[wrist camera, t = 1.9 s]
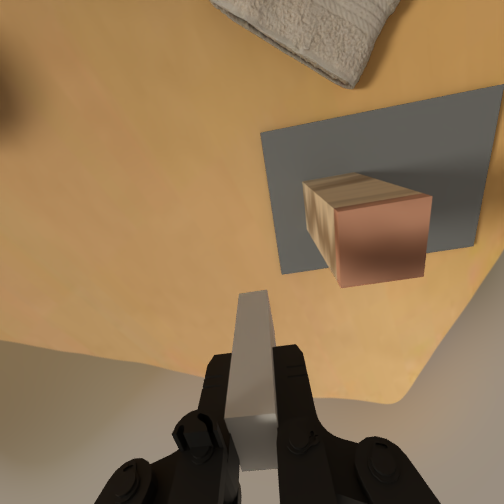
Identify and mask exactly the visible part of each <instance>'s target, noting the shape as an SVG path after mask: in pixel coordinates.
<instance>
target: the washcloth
mask: <svg viewBox="0 0 504 504" xmlns="http://www.w3.org/2000/svg"><path fill="white" fill-rule="evenodd" d="M210 2H211V3H212V5H213V6H214V7H215V8H217V9H219V10H220V11H221V12H222V13H223V14H226V15H227V17H229V18H230V19H231V20H232V21H234V22H236V23H237V24H239V25H241V26H242V27H244V28H245V29H247V30H249V31H250V32H252V33H253V34H255V35H257V36H258V37H260V38H262V39H263V40H264V41H266V42H268V43H269V44H271V45H272V46H274V47H276V48H278V49H279V50H281V51H282V52H284V53H285V54H287V55H289V56H291V57H293V58H294V59H296V60H297V61H299V62H301V63H302V64H304V65H306V66H308V67H309V68H311V69H312V70H314V71H315V72H317V73H318V74H320V75H322V76H323V77H325V78H326V79H328V80H330V81H332V82H333V83H335V84H337V85H339V86H341V87H343V88H346V89H354V87H355V85H356V83H358V82H359V79H360V76H361V75H362V73H363V70H364V68H365V67H366V65H367V62H368V61H369V58H370V55H371V52H372V50H373V48H374V43H375V41H376V39H377V37H378V35H379V34H380V32H381V30H382V28H383V26H384V24H385V22H386V20H387V19H388V17H389V16H390V15H391V14H392V13H394V11H395V9H396V7H397V5H398V3H399V2H400V0H210Z"/></svg>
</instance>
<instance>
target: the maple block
mask: <svg viewBox="0 0 504 504" xmlns="http://www.w3.org/2000/svg"><path fill="white" fill-rule="evenodd" d="M302 184H303V194H304V205H305V215H306V225H307V230H308V232H309V234H310V236H311V237H312V239H313V241H314V242H315V244H316V246H317V248H318V249H319V251H320V253H321V254H322V256H323V258H324V260H325V261H326V263H327V265H328V267H329V268H330V270H331V272H332V273H333V275H334V277H335V279H336V280H337V282H338V284H339V286H340V287H341V288H346V287H353V286H360V285H367V284H375V283H382V282H389V281H396V280H403V279H410V278H417V277H424V269H425V260H426V250H427V241H428V232H429V223H430V214H431V205H432V196H431V195H427V194H424V193H421V192H418V191H414V190H411V189H408V188H404V187H401V186H398V185H394V184H391V183H388V182H385V181H381V180H378V179H375V178H371V177H368V176H365V175H361V174H358V173H355V172H353V173H347V174H342V175H336V176H331V177H325V178H320V179H314V180H309V181H303V182H302Z"/></svg>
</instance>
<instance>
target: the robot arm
mask: <svg viewBox="0 0 504 504" xmlns="http://www.w3.org/2000/svg"><path fill="white" fill-rule="evenodd" d="M172 436H173V438H174V440H175V442H176V444H177V446H178V448H179V449H178V450H177V451H176V452H174V453H173V454H171V455H169V456H167V457H165V458H163V459H160V460H158V461H156V462H154V463H152V464H149V462H148V461H146V460H144V459H143V458H137V459H132V460H130V461H128V462H126V463H124V464H123V465H122V466H121V467H120V468H118V469H117V470H116V471H115V473H114V474H113V475H112V477H111V478H110V479H109V481H108V482H107V484H106V485H105V487H104V489H103V490H102V492H101V494H100V495H99V497H98V498H97V500H96V502H95V503H94V504H241V488H240V484H239V465H240V466H241V469H242V471H254V470H266V469H278V478H279V493H280V504H441V503H440V502H439V501H438V499H437V498H436V497H435V495H434V494H433V492H432V491H431V489H430V488H429V487H428V485H427V484H426V482H425V481H424V480H423V478H422V477H421V475H420V474H419V473H418V471H417V470H416V468H415V467H414V466H413V464H412V463H411V461H410V460H409V459H408V457H407V456H406V455H405V454H404V453H403V451H402V450H401V449H400V448H399V447H398V446H397V445H395V444H394V443H392V442H390V441H389V440H387V439H384V438H380V437H376V436H374V437H367V438H365V439H364V440H362V441H361V442H359V443H355V442H352V441H348V440H344V439H341V438H338V437H336V436H334V435H332V434H331V433H329V432H328V431H327V430H326V429H325V428H324V427H323V426H322V425H321V423H320V421H319V420H318V417H317V414H316V410H315V406H314V402H313V397H312V392H311V388H310V383H309V379H308V374H307V370H306V365H305V360H304V356H303V353H302V351H301V350H300V349H299V348H298V346H297V345H296V344H294V345H286V346H278V347H276V343H275V332H274V326H273V320H272V315H271V309H270V304H269V298H268V293H267V290H262V291H255V292H248V293H241V294H239V299H238V307H237V316H236V324H235V332H234V341H233V349H232V353H227V354H219V355H214V356H213V358H212V359H211V361H210V363H209V364H208V366H207V370H206V375H205V379H204V384H203V389H202V393H201V397H200V401H199V406H198V410H195V411H192V412H190V413H188V414H187V415H185V416H184V417H183V418H182V419H181V420H180V421H179V422H178V424H177V425H176V426H175V429H174V431H173V433H172Z"/></svg>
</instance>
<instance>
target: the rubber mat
mask: <svg viewBox="0 0 504 504" xmlns="http://www.w3.org/2000/svg"><path fill="white" fill-rule="evenodd" d="M503 89H504V84H502V85H497V86H492V87H487V88H482V89H477V90H472V91H467V92H462V93H457V94H452V95H447V96H442V97H437V98H432V99H427V100H422V101H417V102H412V103H407V104H402V105H397V106H392V107H387V108H382V109H377V110H372V111H367V112H362V113H357V114H352V115H347V116H342V117H337V118H332V119H327V120H322V121H317V122H312V123H307V124H302V125H297V126H292V127H287V128H282V129H277V130H272V131H267V132H262V133H260V134H261V140H262V147H263V154H264V160H265V167H266V174H267V180H268V187H269V193H270V200H271V207H272V213H273V220H274V227H275V233H276V240H277V246H278V253H279V260H280V266H281V273H282V275H283V274H290V273H296V272H303V271H310V270H316V269H323V268H329V267H328V265H327V263H326V261H325V260H324V258H323V256H322V254H321V253H320V251H319V249H318V248H317V246H316V244H315V242H314V241H313V239H312V237H311V236H310V234H309V232H308V230H307V225H306V215H305V205H304V194H303V184H302V182H303V181H309V180H314V179H320V178H325V177H331V176H336V175H342V174H347V173H353V172H355V173H358V174H361V175H365V176H368V177H371V178H375V179H378V180H381V181H385V182H388V183H391V184H394V185H398V186H401V187H404V188H408V189H411V190H414V191H418V192H421V193H424V194H427V195H431V196H432V205H431V214H430V223H429V232H428V241H427V250H426V253H431V252H437V251H444V250H451V249H458V248H464V247H471V246H474V240H475V235H476V230H477V225H478V220H479V214H480V209H481V204H482V199H483V193H484V188H485V183H486V178H487V173H488V167H489V162H490V157H491V152H492V146H493V141H494V136H495V131H496V126H497V120H498V115H499V110H500V105H501V99H502V94H503Z"/></svg>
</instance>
